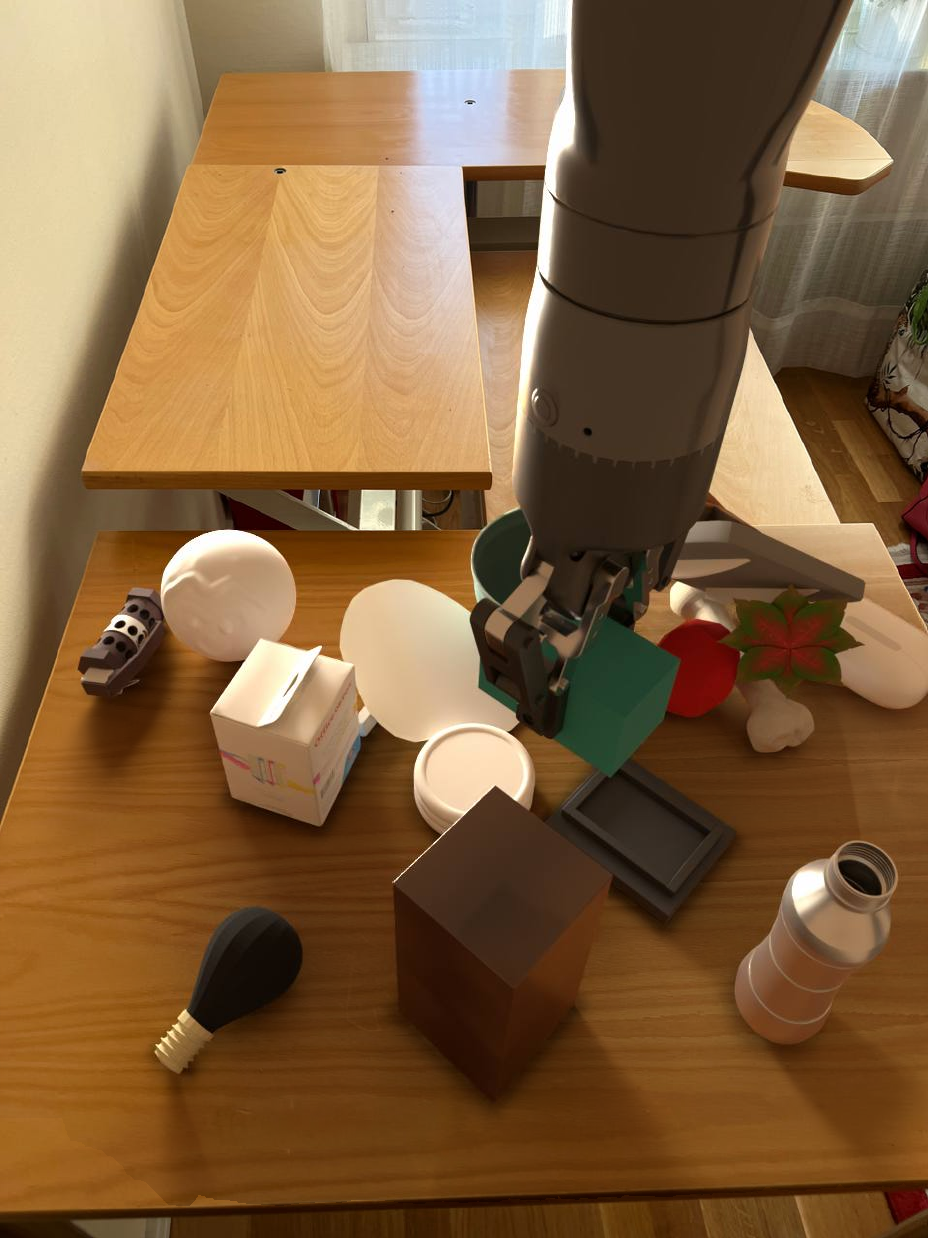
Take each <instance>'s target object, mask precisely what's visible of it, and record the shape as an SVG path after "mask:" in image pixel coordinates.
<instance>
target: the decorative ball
mask: <svg viewBox="0 0 928 1238" xmlns="http://www.w3.org/2000/svg"><path fill="white" fill-rule="evenodd" d="M161 579H162V580H161V585H160V596H161V604H162V609H163V613H164V616H165V619H166V620H165V621H166V623H167V626H168V627H169V629H170V631H171V632H172V634H173V635H174V636H175V638H176V639H177V640H178V641H179V643H181V644H182V645H183V646H185V647H186V648H187V649H188V650H190V651H192V652H193V653H194V654H197V655H198V656H200V657H202V658H206V659H210V660H213V661H217V662H226V663H227V662H240V661H241V662H242V661H246V659H247V658H248V656H249V655H250V653H251V652H252V651H253V649H254V648H255V646H256V645H257V643H258V642H259V641H260V639H262V638H265V639H268V640H272V641H276V642H279V641H280V640H281V638H282V637H283V636H284V634H285V633H286V632H287V630H288V629H289V627H290V624H291V623H292V621H293V617H294V614H295V611H296V605H297V588H296V583H295V578H294V575H293V573H292V569H291V567H290V566H289V564H288V562H287V561H286V559H285V558H284V556H283V555H282V554H281V552H279V550H277V549H276V547H274V545H272V544H271V543H270V542H268V541H266V540H265V539H263V538H261V537H259V536H256V535H255V534H252V533H250V532H245V531H242V530H233V529H224V530H215V531H211V532H208V533H203V534H202V535H200V536H198V537H195V538H194V539H192V540H190V541H189V542H187V543H186V544H185V545H184V546H182V547H181V548H180V549H179V550H178V551H177V552H176V554H174V556H173V557H172V559H171V560H170V561H169V563H168V564H167V566H166V567H165V569H164V570H163V575H162V578H161Z"/></svg>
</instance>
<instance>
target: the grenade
mask: <svg viewBox="0 0 928 1238" xmlns="http://www.w3.org/2000/svg"><path fill="white" fill-rule="evenodd" d="M165 621H166V619H165V616H164V613H163V609H162V604H161V594H160V593H158V591H157V590H155V589H152V588H145V587H144V588H143V587H137V586H133V587H132V588H131V589H130V591H128V594H127V596H126V600H125V602H124V605H123V607H122V608H121V609H120V611H119V613H118V614H117V615H116V616H115V617H113V618H112V619H111V621H110V622H109V623H108V626H107V627H106V628H105V629H104V631H103V632H102V633H101V636H100V638H98V640H97V642H96V643H95V644H94V646H93V647H86V648H85V650H84V651H83V652H82V653H81V655H80V658H79V662H78V665H77V671H78V672H79V673H80V674H81V675H82V677H81V678H80V680H79V681H80V684H81V686H82V688H83V690H84V692H85V694H86V695H88V696H94V697H101V698H109V699H112V698H113V696H116V695H117V694H118V695H119V694H122V693H123V689H124V688H126V687H129V686H132V685H135V684H136V683H138V682H139V681H140V679H134V678H135V676H137V675H138V673H139V672H141V671H142V670H143V668H145V666H146V665H147V663H148V662H149V660H150V659H151V657H152V656H153V654H154V653H155V651H156V650H157V649H158V646H159V645H160V644H161V642H162V641H163V639H164V638H165V636H166V635H167V629H166V627H165V625H164V624H165ZM132 679H133V680H132ZM129 683H130V684H129Z"/></svg>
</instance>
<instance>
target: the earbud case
mask: <svg viewBox="0 0 928 1238" xmlns="http://www.w3.org/2000/svg"><path fill="white" fill-rule="evenodd" d="M844 611H845V615H844V618H843V620H842V623H841V625H840V627H841V628H843V629H844V630H846V631H847V632H848V633H850V634H851V635H852V636H853V637H854V639H855V640H856V641H857V642H858V641H859V642H861V643H863V644H865V645H863V646H859V647H856V648H852V649H848V650H846V651H843V652H839V653H837V654H835V656H836V657H837V659H838V661H839V663H840V667H841V674H842V678H841V682H842V683H843V685H844V687H846V688H848V689H849V690H850V691H852V692H854V693H855V694H857V695H858V696H859V697H861V698H863V699H865V700H867V701H869V702H870V703H872V704H874V705H877V706H879V707H882V708H886V709H889V710H890V709H891V710H903V709H907V708H911V707H913V706H915V705H917V704H918V703H920V702H921V701H922V700H923V699H924V698H925V697H926V696H927V695H928V633H926V632H925V631H924V630H922V629H920V628H919V627H917V626H915V625H914V624H912V623H911V622H909V621H907V620H906V619H903V618H902V617H901V616H899V615H896V614H895V613H894V612H893V611H890V610H888V609H887V608H885V607H883V606H881V605H880V604H878V603H877V602H875V601H873V600H872V599H869V598H867V597H865V596H863V599H862V600H861V601H859V602H852V603H847V607H846V609H845V610H844Z"/></svg>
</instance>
